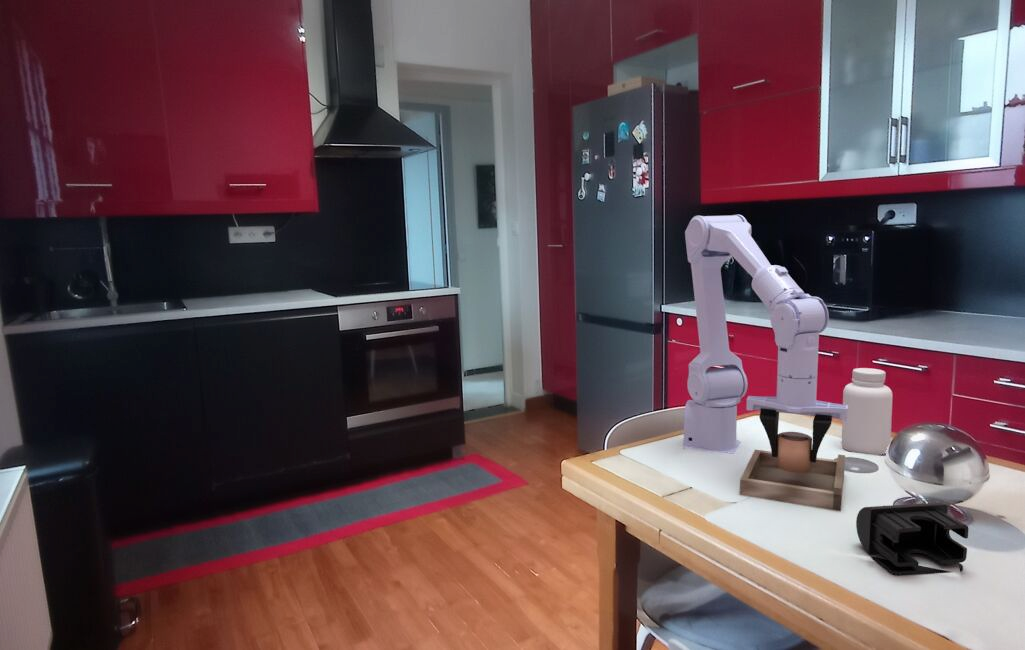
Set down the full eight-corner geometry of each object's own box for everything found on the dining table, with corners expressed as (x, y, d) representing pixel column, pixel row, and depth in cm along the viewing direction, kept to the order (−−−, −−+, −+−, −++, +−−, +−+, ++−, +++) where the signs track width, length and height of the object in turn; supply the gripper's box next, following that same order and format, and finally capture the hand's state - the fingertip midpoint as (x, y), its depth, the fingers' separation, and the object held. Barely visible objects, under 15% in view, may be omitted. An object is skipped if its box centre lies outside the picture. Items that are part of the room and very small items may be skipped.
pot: (775, 469, 100) (775, 438, 99) (778, 459, 105) (779, 429, 104) (809, 474, 98) (810, 442, 97) (812, 463, 102) (813, 433, 101)
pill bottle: (877, 442, 121) (881, 365, 119) (898, 456, 114) (902, 375, 111) (834, 442, 122) (837, 366, 120) (852, 456, 114) (855, 375, 112)
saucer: (831, 472, 107) (831, 467, 107) (833, 459, 113) (833, 454, 113) (878, 478, 104) (878, 474, 104) (878, 464, 110) (878, 460, 110)
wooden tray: (739, 497, 99) (740, 473, 98) (754, 465, 111) (755, 444, 111) (840, 514, 92) (841, 488, 91) (843, 478, 105) (844, 455, 104)
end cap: (927, 543, 83) (930, 494, 82) (969, 571, 76) (973, 518, 75) (853, 548, 82) (856, 499, 81) (889, 577, 75) (892, 524, 74)
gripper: (744, 376, 99) (742, 459, 101) (848, 384, 92) (844, 473, 94) (751, 367, 105) (749, 445, 107) (849, 374, 98) (845, 457, 100)
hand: (794, 457), depth 101 cm, fingers closed on pot, 5 cm apart
